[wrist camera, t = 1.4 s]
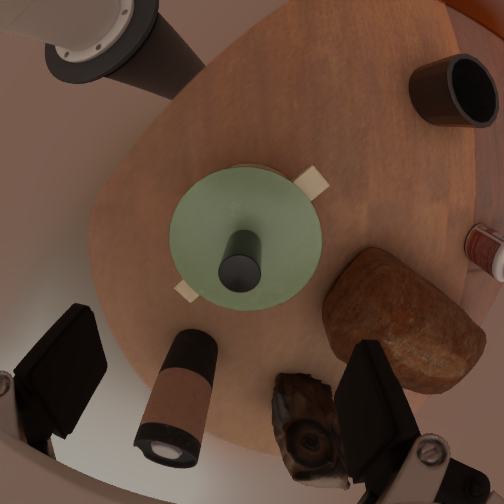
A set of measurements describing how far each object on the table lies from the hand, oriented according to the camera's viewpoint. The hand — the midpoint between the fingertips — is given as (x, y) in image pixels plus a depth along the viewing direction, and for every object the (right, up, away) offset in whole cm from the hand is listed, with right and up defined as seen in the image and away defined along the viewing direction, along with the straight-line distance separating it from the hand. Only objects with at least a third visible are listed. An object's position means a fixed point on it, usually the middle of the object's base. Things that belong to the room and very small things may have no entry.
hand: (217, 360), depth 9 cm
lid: (+1, +4, +16) cm, 17 cm away
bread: (+24, -5, +30) cm, 39 cm away
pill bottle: (+37, +5, +25) cm, 44 cm away
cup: (+25, +24, +17) cm, 39 cm away
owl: (+9, -22, +37) cm, 44 cm away
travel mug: (-8, -11, +33) cm, 36 cm away
